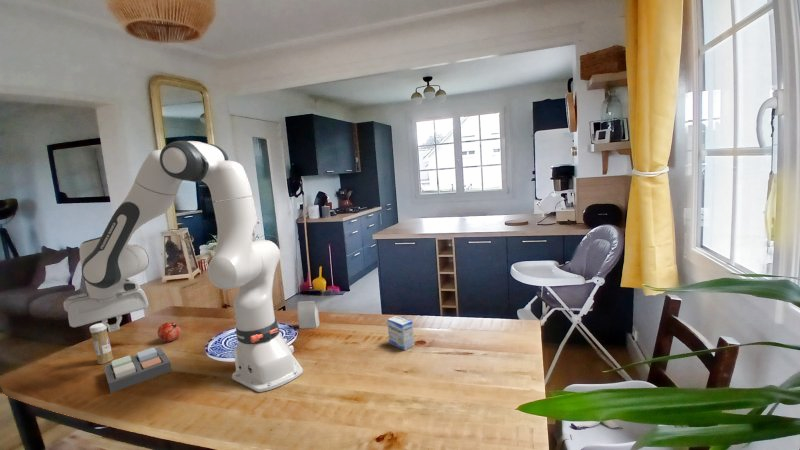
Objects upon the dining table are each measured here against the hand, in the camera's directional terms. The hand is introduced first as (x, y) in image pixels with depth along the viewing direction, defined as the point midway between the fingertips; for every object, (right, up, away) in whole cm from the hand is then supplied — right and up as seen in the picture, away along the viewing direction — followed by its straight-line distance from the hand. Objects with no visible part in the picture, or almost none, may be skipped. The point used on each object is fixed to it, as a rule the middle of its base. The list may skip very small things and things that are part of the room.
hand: (114, 330), depth 123 cm
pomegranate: (+3, -11, +25) cm, 28 cm away
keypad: (+6, -14, +2) cm, 16 cm away
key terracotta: (+11, -13, +2) cm, 17 cm away
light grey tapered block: (+56, -6, +26) cm, 62 cm away
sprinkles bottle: (-12, -14, +12) cm, 22 cm away
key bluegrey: (+6, -11, +7) cm, 15 cm away
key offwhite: (+6, -13, -3) cm, 15 cm away
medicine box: (+91, -6, +4) cm, 91 cm away
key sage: (+1, -13, +2) cm, 13 cm away
